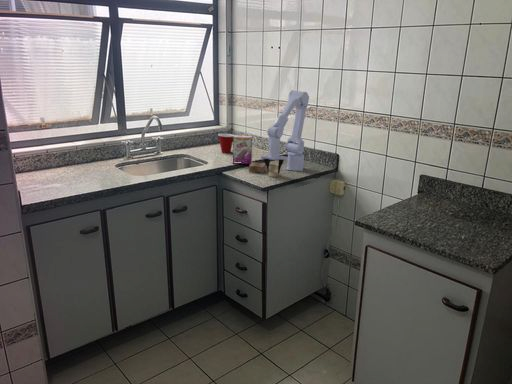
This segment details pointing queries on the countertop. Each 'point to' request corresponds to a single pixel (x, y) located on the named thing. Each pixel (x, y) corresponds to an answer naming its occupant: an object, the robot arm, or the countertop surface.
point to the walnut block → (257, 167)
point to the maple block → (273, 170)
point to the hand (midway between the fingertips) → (273, 172)
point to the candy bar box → (242, 149)
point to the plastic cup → (226, 142)
